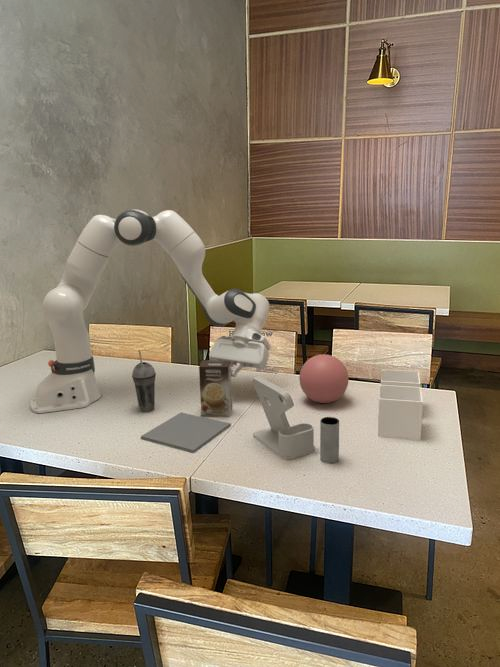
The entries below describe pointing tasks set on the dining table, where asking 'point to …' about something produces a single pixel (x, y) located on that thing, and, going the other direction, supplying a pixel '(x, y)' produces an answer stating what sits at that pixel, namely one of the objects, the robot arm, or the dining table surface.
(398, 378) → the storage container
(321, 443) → the gray cylinder
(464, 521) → the dining table surface
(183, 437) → the mat
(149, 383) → the beverage cup
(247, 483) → the dining table surface
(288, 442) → the phone holder
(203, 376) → the coffee box
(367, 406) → the dining table surface
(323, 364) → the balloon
